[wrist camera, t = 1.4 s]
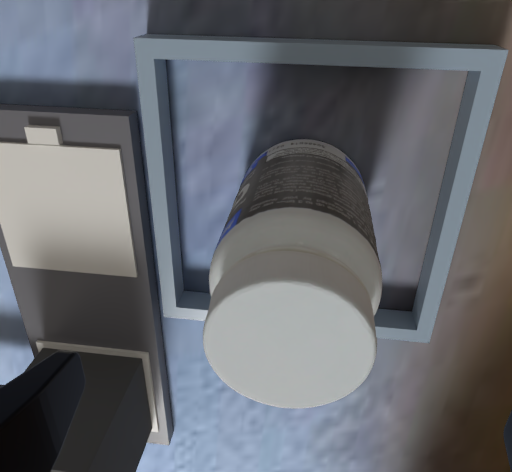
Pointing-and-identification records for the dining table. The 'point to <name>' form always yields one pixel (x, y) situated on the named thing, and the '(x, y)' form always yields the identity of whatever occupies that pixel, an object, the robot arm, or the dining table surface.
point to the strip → (82, 238)
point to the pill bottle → (295, 280)
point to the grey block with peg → (106, 416)
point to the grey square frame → (335, 54)
